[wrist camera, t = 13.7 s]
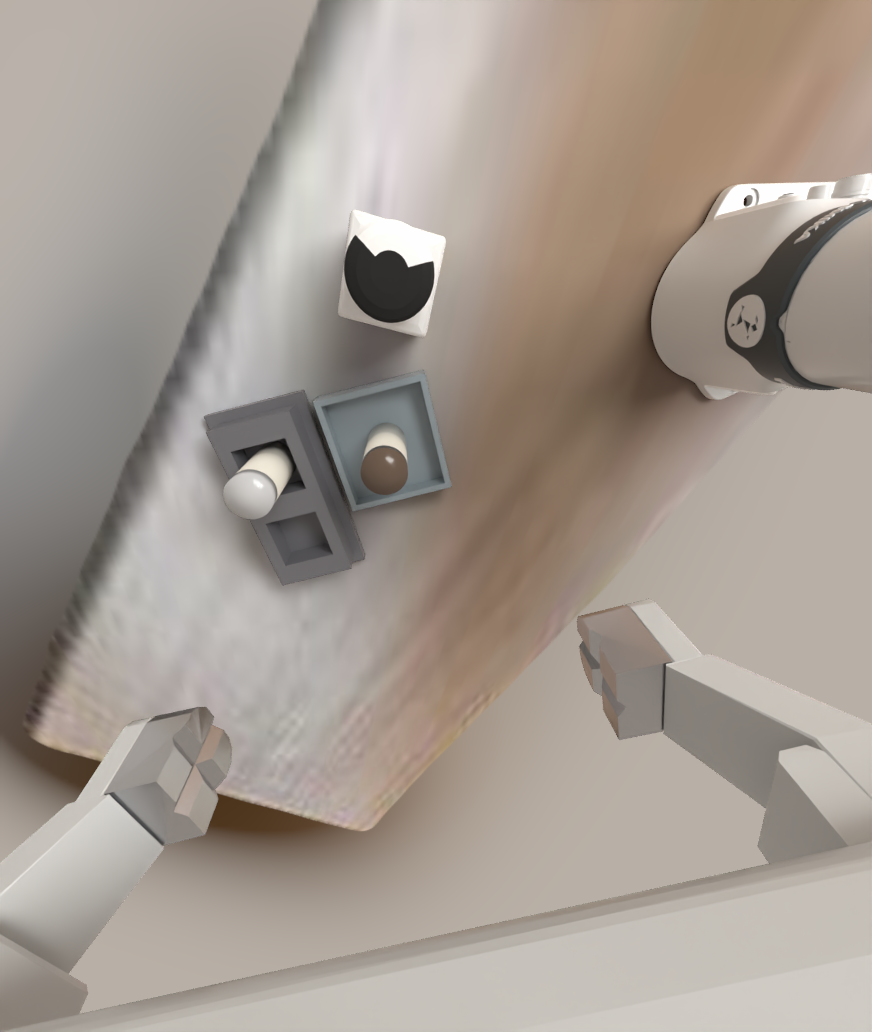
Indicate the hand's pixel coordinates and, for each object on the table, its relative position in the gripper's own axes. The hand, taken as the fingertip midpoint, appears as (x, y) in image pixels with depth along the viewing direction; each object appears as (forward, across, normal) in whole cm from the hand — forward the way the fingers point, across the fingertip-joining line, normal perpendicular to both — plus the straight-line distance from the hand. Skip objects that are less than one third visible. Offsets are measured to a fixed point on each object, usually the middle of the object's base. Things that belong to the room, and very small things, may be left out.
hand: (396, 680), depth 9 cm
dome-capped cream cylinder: (+36, +14, +4) cm, 39 cm away
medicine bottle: (+37, -2, -9) cm, 38 cm away
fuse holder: (+37, +14, +8) cm, 40 cm away
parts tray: (+37, +2, +5) cm, 37 cm away
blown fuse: (+36, +2, +5) cm, 37 cm away
